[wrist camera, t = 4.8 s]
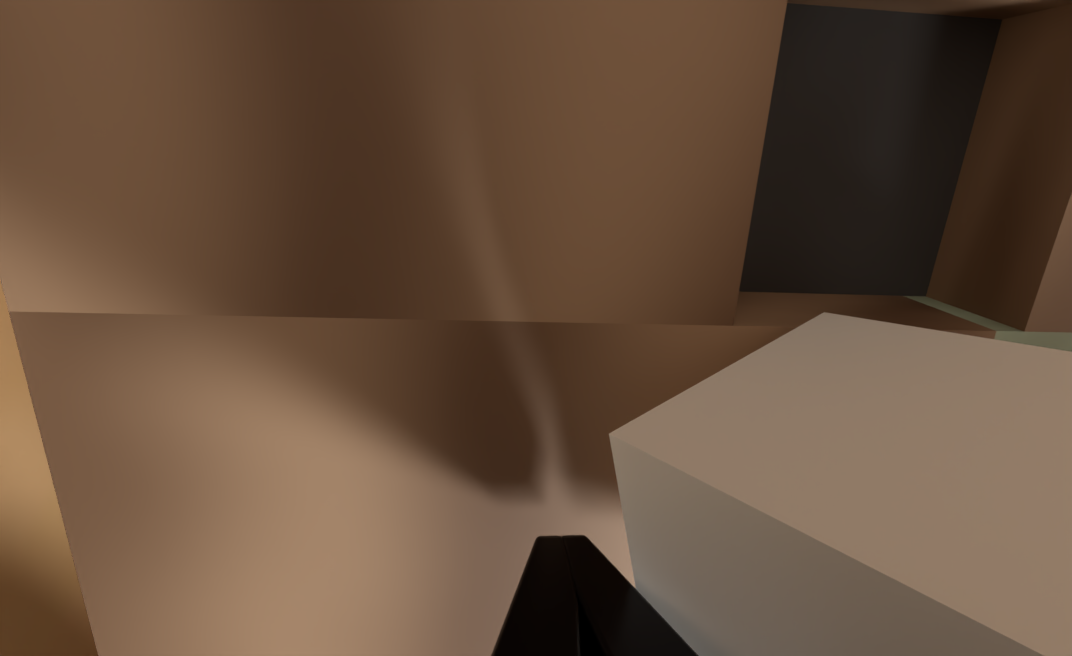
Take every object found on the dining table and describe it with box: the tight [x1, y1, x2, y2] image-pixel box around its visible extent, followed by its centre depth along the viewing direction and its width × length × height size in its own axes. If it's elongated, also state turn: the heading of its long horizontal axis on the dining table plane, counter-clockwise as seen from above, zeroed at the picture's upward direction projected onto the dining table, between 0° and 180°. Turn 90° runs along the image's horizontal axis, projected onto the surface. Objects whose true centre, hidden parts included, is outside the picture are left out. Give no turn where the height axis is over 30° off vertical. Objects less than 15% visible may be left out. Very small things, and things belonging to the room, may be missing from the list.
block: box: [609, 312, 1072, 656], centre depth 7 cm, size 4×4×4 cm
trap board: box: [0, 0, 1072, 656], centre depth 10 cm, size 20×18×5 cm
